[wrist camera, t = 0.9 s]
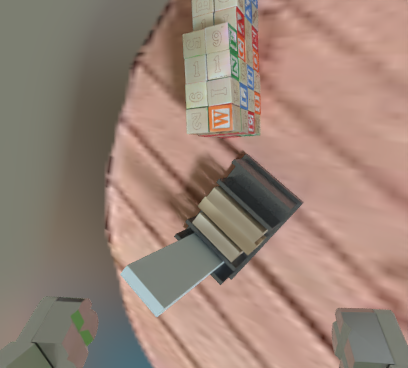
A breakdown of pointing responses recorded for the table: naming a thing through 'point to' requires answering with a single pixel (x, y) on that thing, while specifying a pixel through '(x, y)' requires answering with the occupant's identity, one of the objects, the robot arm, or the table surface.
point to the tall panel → (171, 272)
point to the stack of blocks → (222, 69)
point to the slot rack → (250, 209)
